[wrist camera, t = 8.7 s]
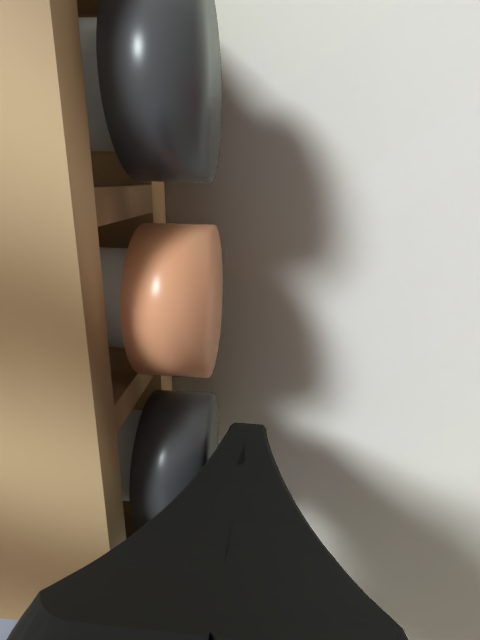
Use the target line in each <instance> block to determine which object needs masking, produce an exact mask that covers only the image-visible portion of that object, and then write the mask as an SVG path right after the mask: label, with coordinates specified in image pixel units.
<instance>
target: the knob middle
mask: <svg viewBox="0 0 480 640" xmlns="http://www.w3.org/2000/svg"><path fill="white" fill-rule="evenodd" d="M99 249H100V260H101V271H102V281H103V292H104V303H105V314H106V325H107V336H108V347H117V348H125V352H126V355H127V358H128V361H129V363H130V365H131V367H132V368H133V370H134V371H135V372H136V373H138V374H147V375H164V376H182V377H199V378H210V377H211V375H212V373H213V370H214V367H215V363H216V359H217V353H218V347H219V340H220V331H221V319H222V302H223V263H222V249H221V240H220V235H219V231H218V228H217V226H216V225H208V224H173V223H143V224H141V225H140V226H139V227H138V228H137V229H136V230H135V232H134V234H133V236H132V238H131V240H130V243H129V246H128V248H106V247H99Z"/></svg>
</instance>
